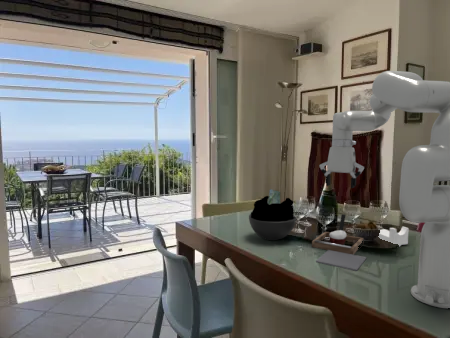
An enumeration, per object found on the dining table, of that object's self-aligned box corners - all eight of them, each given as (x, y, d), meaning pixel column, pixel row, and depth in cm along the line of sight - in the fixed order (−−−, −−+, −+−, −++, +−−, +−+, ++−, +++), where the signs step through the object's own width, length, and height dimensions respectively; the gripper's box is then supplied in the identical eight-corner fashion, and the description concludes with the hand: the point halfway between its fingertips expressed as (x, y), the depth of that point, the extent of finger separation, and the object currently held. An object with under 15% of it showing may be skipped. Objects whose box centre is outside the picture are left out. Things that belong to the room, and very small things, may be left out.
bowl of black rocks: (239, 238, 150) (239, 195, 148) (270, 230, 163) (271, 190, 161) (273, 250, 135) (274, 202, 133) (304, 240, 147) (306, 196, 145)
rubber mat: (356, 270, 114) (356, 269, 114) (315, 262, 122) (315, 260, 122) (366, 258, 126) (366, 257, 126) (328, 251, 134) (328, 249, 134)
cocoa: (334, 250, 136) (335, 221, 134) (323, 245, 142) (324, 216, 140) (352, 246, 140) (353, 217, 138) (341, 241, 146) (342, 213, 144)
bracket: (407, 246, 141) (408, 228, 140) (393, 247, 139) (394, 229, 138) (384, 237, 153) (385, 220, 153) (371, 238, 151) (371, 221, 150)
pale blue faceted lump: (243, 216, 191) (249, 185, 192) (273, 221, 199) (279, 191, 200) (260, 222, 174) (267, 188, 175) (292, 228, 182) (298, 194, 183)
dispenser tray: (353, 255, 130) (353, 247, 129) (311, 246, 138) (312, 239, 138) (363, 243, 143) (363, 237, 142) (324, 237, 152) (325, 230, 151)
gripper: (367, 144, 135) (365, 187, 136) (323, 143, 144) (322, 183, 146) (362, 144, 128) (360, 189, 130) (317, 143, 138) (316, 185, 140)
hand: (340, 186), depth 138 cm, fingers open, 9 cm apart
